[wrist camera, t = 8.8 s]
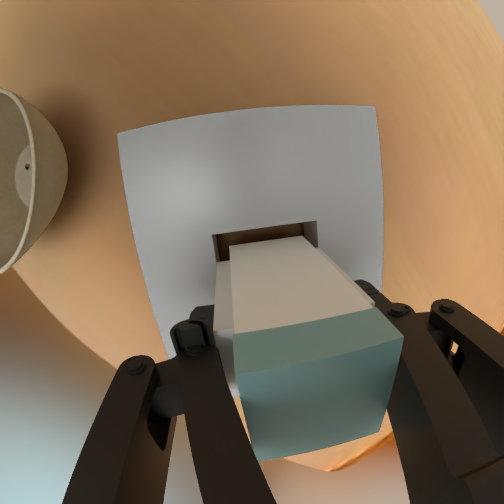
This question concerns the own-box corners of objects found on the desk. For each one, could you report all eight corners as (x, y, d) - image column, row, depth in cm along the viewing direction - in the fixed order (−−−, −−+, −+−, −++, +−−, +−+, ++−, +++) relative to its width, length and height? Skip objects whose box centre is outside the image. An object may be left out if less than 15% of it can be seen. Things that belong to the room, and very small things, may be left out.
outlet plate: (133, 137, 15) (115, 133, 12) (353, 113, 16) (376, 105, 13) (188, 375, 21) (185, 404, 18) (357, 347, 22) (372, 370, 19)
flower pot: (127, 170, 16) (70, 176, 9) (47, 267, 17) (-9, 310, 10) (52, 78, 13) (-9, 54, 6) (-14, 178, 14) (-74, 191, 8)
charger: (228, 245, 15) (234, 374, 6) (303, 234, 15) (404, 336, 6) (238, 311, 17) (255, 461, 7) (307, 300, 17) (379, 431, 7)
